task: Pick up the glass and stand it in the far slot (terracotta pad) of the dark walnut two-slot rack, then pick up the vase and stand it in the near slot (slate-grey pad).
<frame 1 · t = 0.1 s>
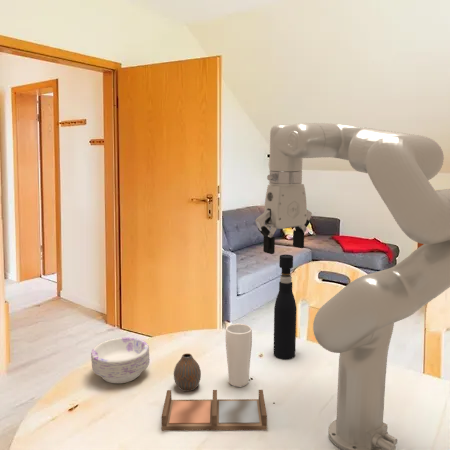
hand: (283, 250, 117), 37 cm above the table, tool pointing down, fingers open, 9 cm apart
paper bowls: (121, 376, 132), on the table
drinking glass: (238, 383, 128), on the table
wine bottle: (284, 355, 144), on the table
slot rack: (214, 416, 112), on the table
vase: (187, 387, 125), on the table
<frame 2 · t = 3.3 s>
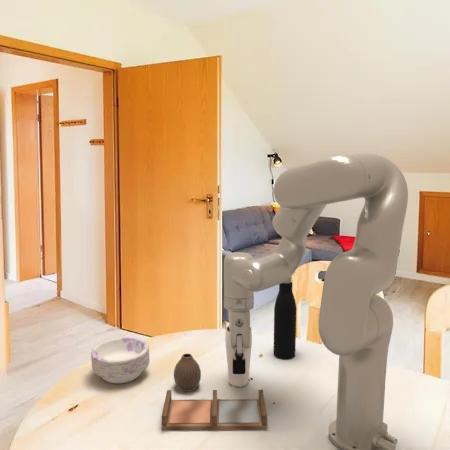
hand: (238, 366, 127), 4 cm above the table, tool pointing down, fingers closed on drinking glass, 6 cm apart
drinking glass: (238, 383, 128), on the table, touching gripper
everything else where it was.
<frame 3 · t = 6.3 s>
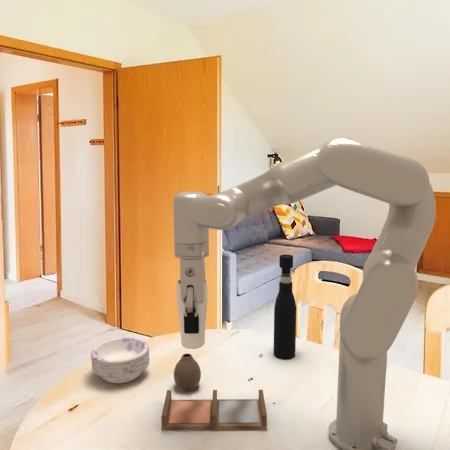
hand: (192, 326, 109), 22 cm above the table, tool pointing down, fingers closed on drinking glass, 6 cm apart
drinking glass: (193, 345, 110), point 17 cm above the table, touching gripper
everything else where it was.
when the fingers open (7 cm above the table, at t = 9.7 s): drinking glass drops 1 cm, resting on slot rack.
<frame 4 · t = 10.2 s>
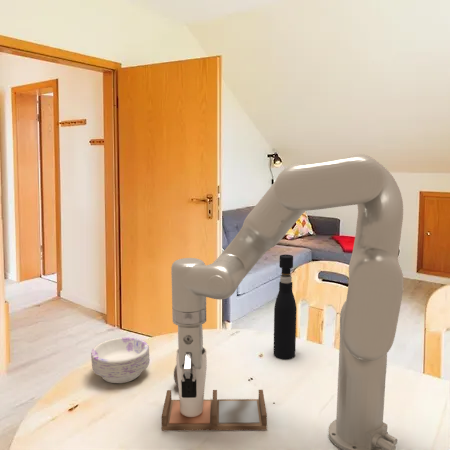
hand: (190, 385, 111), 8 cm above the table, tool pointing down, fingers open, 9 cm apart
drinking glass: (191, 412, 112), point 1 cm above the table, touching slot rack
everything else where it was.
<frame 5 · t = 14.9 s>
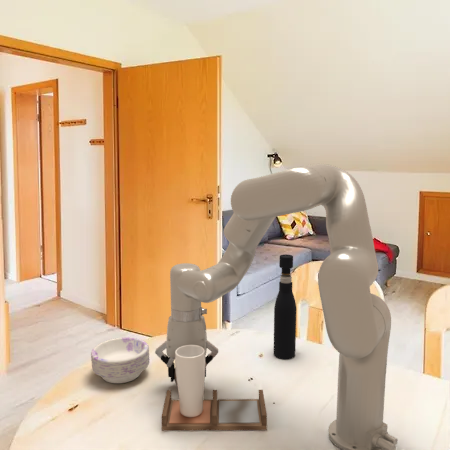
hand: (187, 378, 125), 2 cm above the table, tool pointing down, fingers closed on vase, 6 cm apart
vase: (187, 387, 125), on the table, touching gripper
everything else where it was.
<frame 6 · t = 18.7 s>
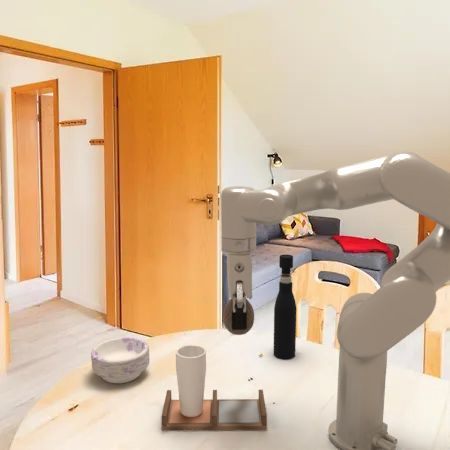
hand: (238, 321, 108), 23 cm above the table, tool pointing down, fingers closed on vase, 6 cm apart
vase: (238, 332, 109), point 20 cm above the table, touching gripper
everything else where it was.
when the fingers open (5 cm above the table, at t = 22.5 s): vase drops 1 cm, resting on slot rack.
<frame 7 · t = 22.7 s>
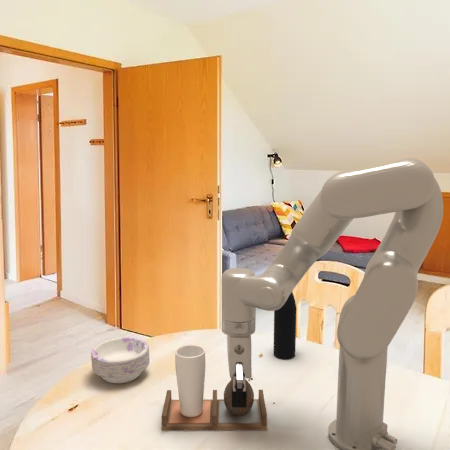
hand: (238, 395, 111), 5 cm above the table, tool pointing down, fingers open, 8 cm apart
vase: (238, 411, 112), point 1 cm above the table, touching slot rack
everything else where it was.
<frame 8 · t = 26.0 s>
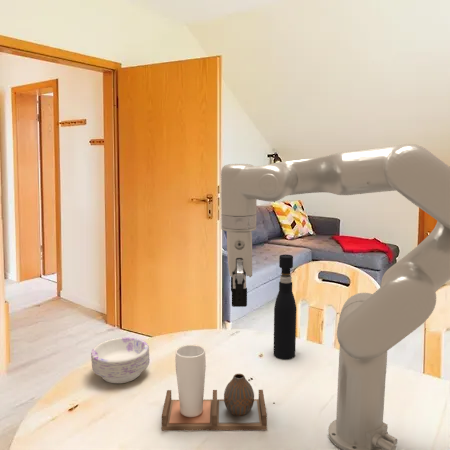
hand: (238, 298, 107), 28 cm above the table, tool pointing down, fingers open, 9 cm apart
nothing on the table moved.
at the end: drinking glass 0.3 cm from the target spot on the slot rack, point 1.0 cm above the slot rack's base; vase 0.1 cm from the target spot on the slot rack, point 1.0 cm above the slot rack's base; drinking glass tilted 0° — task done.
